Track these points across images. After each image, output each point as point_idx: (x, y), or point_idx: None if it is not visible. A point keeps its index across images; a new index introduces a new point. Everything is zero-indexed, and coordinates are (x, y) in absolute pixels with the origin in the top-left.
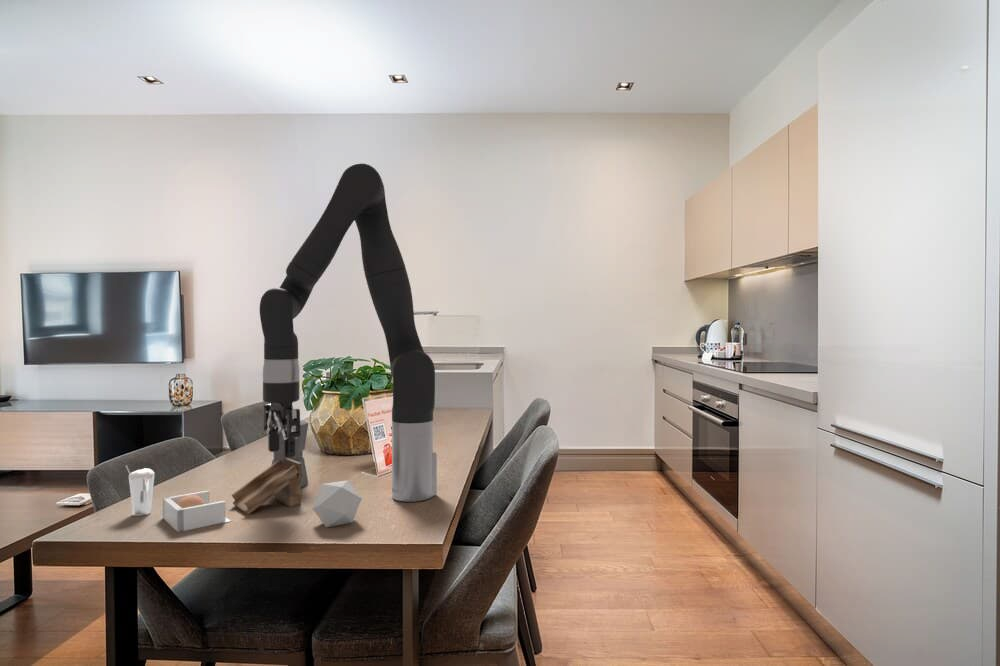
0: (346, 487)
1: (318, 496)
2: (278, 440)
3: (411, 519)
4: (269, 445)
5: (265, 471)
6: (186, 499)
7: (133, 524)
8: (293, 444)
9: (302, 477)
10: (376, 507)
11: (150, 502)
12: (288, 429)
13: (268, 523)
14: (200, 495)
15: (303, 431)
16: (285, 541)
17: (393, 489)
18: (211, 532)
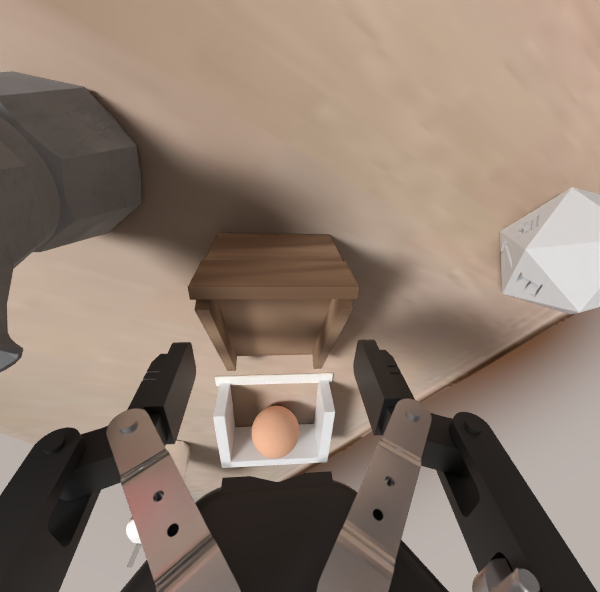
0: None
1: (551, 306)
2: (176, 379)
3: None
4: (187, 396)
5: (220, 336)
6: (285, 455)
7: None
8: (406, 389)
9: (100, 129)
10: (555, 69)
11: (179, 460)
12: (474, 503)
13: (399, 333)
14: (226, 422)
15: None
16: (506, 343)
17: None
18: (362, 401)
